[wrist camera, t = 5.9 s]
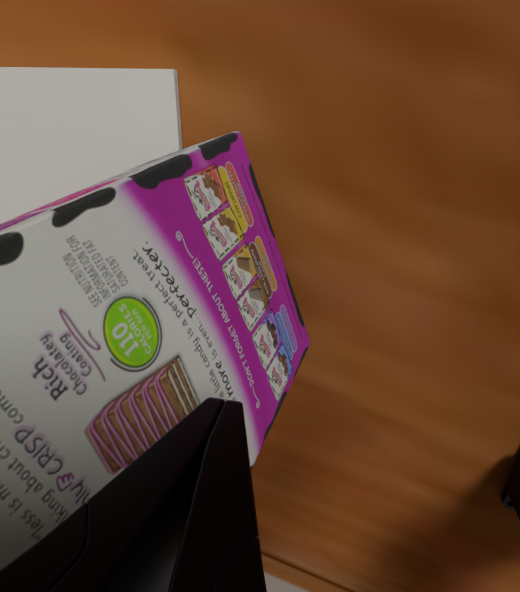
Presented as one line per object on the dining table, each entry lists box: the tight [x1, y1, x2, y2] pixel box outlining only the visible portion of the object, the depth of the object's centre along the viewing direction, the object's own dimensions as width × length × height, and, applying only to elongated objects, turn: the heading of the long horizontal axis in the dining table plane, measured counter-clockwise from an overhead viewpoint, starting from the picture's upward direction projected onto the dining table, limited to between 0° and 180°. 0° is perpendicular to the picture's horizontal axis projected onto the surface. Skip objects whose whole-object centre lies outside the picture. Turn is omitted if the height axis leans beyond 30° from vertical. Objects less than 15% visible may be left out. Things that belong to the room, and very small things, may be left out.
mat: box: [0, 67, 182, 224], centre depth 20 cm, size 16×16×1 cm
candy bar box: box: [0, 131, 310, 570], centre depth 12 cm, size 11×5×16 cm, turn 18°
